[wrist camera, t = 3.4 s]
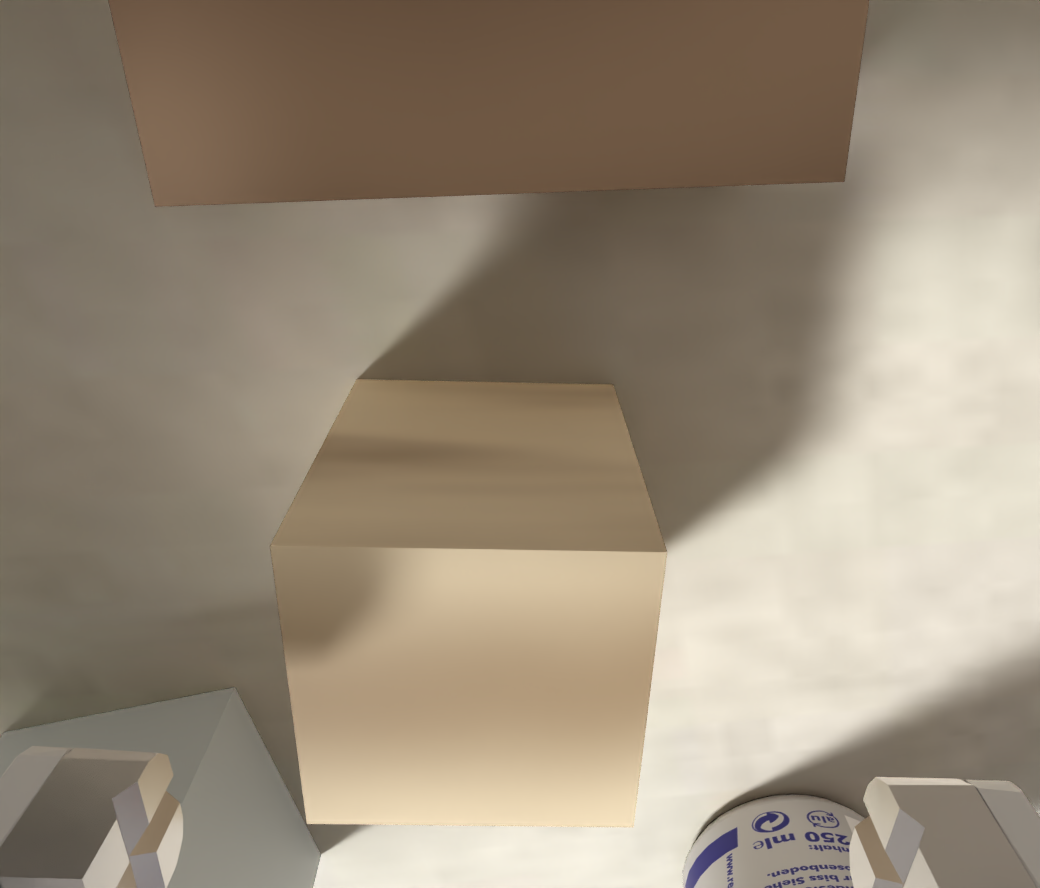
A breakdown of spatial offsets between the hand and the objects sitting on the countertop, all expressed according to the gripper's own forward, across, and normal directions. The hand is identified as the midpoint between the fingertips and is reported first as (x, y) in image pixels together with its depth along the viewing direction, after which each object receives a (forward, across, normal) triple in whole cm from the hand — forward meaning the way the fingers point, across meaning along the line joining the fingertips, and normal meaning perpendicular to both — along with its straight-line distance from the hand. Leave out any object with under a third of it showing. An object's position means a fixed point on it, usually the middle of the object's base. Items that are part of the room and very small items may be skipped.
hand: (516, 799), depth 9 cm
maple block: (+8, +1, 0) cm, 8 cm away
